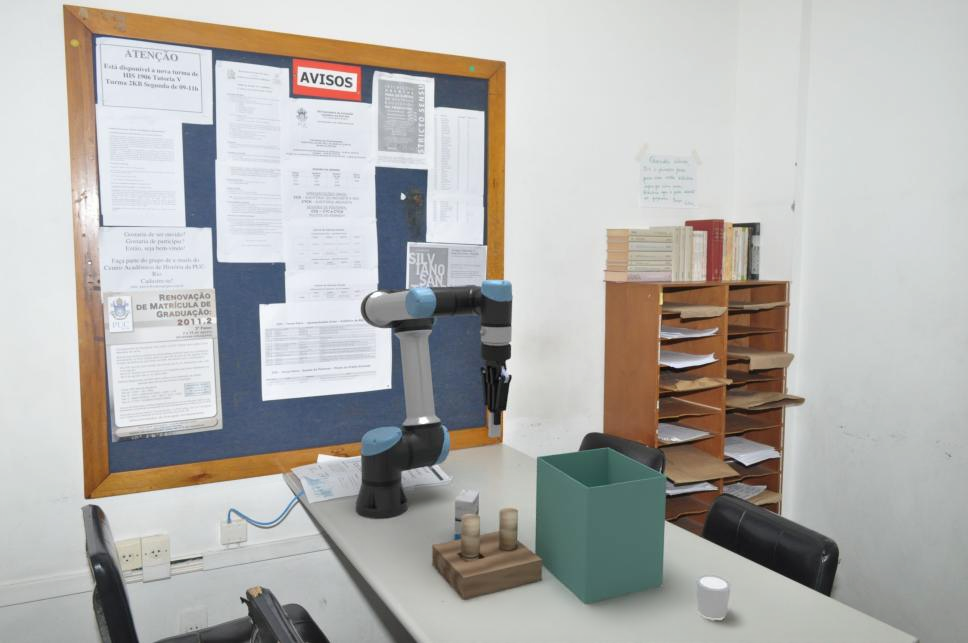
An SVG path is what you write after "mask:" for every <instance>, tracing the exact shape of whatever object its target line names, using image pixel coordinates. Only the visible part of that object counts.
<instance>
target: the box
mask: <svg viewBox="0 0 968 643" xmlns="http://www.w3.org/2000/svg"><path fill="white" fill-rule="evenodd" d="M667 479H668V478H667V475H665V474H663V473H661V472H659V471H657V470H655V469H653V468H652V467H649V466H647V465H645V464H642V463H641V462H639V461H637V460H635V459H633V458H630V457H628V456H626V455H624V454H622V453H620V452H618V451H616V450H615V449H612V448H611V447H602V448H595V449H588V450H587V449H586V450H581V451H572V452H565V453H557V454H549V455H541V456H540V455H539V456H537V457H536V484H535V486H536V487H535V488H536V492H535V493H536V494H535V496H536V497H535V499H536V500H535V537H534V538H535V540H534V541H535V545H534V547H535V548H534V550H535V551H534V554H536V555H537V556H538V557H540V558H541V559H542V567H543V568H545V569H546V570H547V571H548V572H549V573H551V575H553V576H554V577H555V578H556V579H557V580H558V581H559V582H560V583H561V584H562V585H563V586H564V587H565V588H567V589H568V590H569V591H570V592H571V593H572V594H574V595H575V597H577V599H578V600H580V601H581V602H582V603H583V604H585V605H587V604H591V603H594V602H598V601H599V602H600V601H603V600H604V601H605V600H607V599H611V598H616V597H620V596H625V595H628V594H634V593H638V592H641V591H642V592H643V591H646V589H647V590H649V588H651V589H654V588H653V587H655V588H658V587H657V586H659V587H662V586H663V578H664V577H663V576H664V574H663V573H664V554H665V553H664V551H665V528H666V527H665V526H666V525H665V524H666V506H667V505H666V503H667V499H666V498H667ZM661 585H662V586H661Z"/></svg>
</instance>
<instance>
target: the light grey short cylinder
mask: <svg viewBox="0 0 968 643" xmlns="http://www.w3.org/2000/svg"><path fill="white" fill-rule="evenodd" d="M695 580H696V581H695V582H696V598H697V599H696V600H697V612H698V611H699V612H700V613H701V614H702V615H704V616H706V617H711V618H721V617H724V616H725V615H726V616H727V611H728V605H729V601H730V600H729V598H730V594H731V586H732V585H731V583H730V581H728V580H727V579H725V578H723V577H721V576H716V575H709V574H706V575H705V574H704V575H700V576H698V577H697V578H696V579H695Z"/></svg>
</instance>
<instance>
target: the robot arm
mask: <svg viewBox="0 0 968 643" xmlns="http://www.w3.org/2000/svg"><path fill="white" fill-rule="evenodd" d="M513 299H514V296H513V286H512V282H511V281H509V280H507V279H484V280H483V281H482V282H481V285H476V284H464V285H460V286H457V285H455V286H454V285H453V286H418V287H412V288H402V289H399V288H398V289H380V290H379V289H378V290H375V291H372V292H370V293H368V294H367V295H366V296H365V297H364V298H363V299H362V301H361V304H360V315H361V317H362V318H363V320H364V321H365V322H366V323H367V324H368V325H369V326H372V327H375V328H378V329H393V333H394V336H395V337H397V339H399V343H400V344H399V345H400V356H401V365H402V366H401V367H402V378H403V389H404V400H405V401H404V402H405V411H406V419H405V420H404V421H403V423H402V430H401V428H400V427H398V426H381V427H377V428H374V429H371V430H368V431H367V432H366V433H365V434H364V435H363V436H362V437H361V443H360V444H361V446H360V460H361V464H360V465H361V468H360V470H361V471H360V472H361V485H360V488H359V491H358V494H357V498H356V501H355V511H356V512H357V514H358V515H359V516H361V517H365V518H372V519H386V518H392V517H396V516H399V515H402V514H404V513H405V512H406V511H407V510H408V508H409V506H408V505H409V503H408V502H409V500H408V497H407V494H406V491H405V488H404V484H403V482H402V481H403V480H402V476H403V475H402V472H405V471H410V470H417V469H421V468H427V467H429V468H430V467H433V466H436V465H441V464H443V462H445V461H446V459H447V458H448V456H449V454H450V449H451V436H450V433H449V430H448V428H447V427H446V426H445V425H442V422H441V419H440V418H439V417H438V416H437V415H436V410H435V402H434V401H435V400H434V399H435V398H434V391H433V379H432V378H433V376H432V369H431V368H432V367H431V357H430V345H429V336H430V335H431V333H432V332H433V326H435V325H436V324H437V322H438V318H442V317H464V316H467V317H468V316H478V317H480V330H479V334H480V341H481V342H482V343H481V344H480V358H481V359H482V360H485V362H484V365H485V366H480V368H479V370H480V374H481V380H482V381H481V382H482V383H481V384H482V393H483V402H484V407H487V410H488V430H487V431H488V437H489V438H491V439H493V438H501V436H502V430H501V429H502V412H505V411H507V406H508V405H507V404H508V399H509V391H510V385H511V381H512V379H513V377H512V376H513V375H512V374H508V372H507V369H508V368H507V363H506V361H508V360H509V361H510V359H511V358H512V345H511V342H512V330H513V329H512V327H513V326H512V322H513V319H512V318H513Z"/></svg>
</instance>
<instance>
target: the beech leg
mask: <svg viewBox="0 0 968 643" xmlns="http://www.w3.org/2000/svg"><path fill="white" fill-rule="evenodd" d="M480 535H481V517H480V515H479V516H478V515H476V514H465V515H463V516H462V517H461V552H462V559H463V560H464V561H465V562H468V561H473V560H477V559H479V552H480Z"/></svg>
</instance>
